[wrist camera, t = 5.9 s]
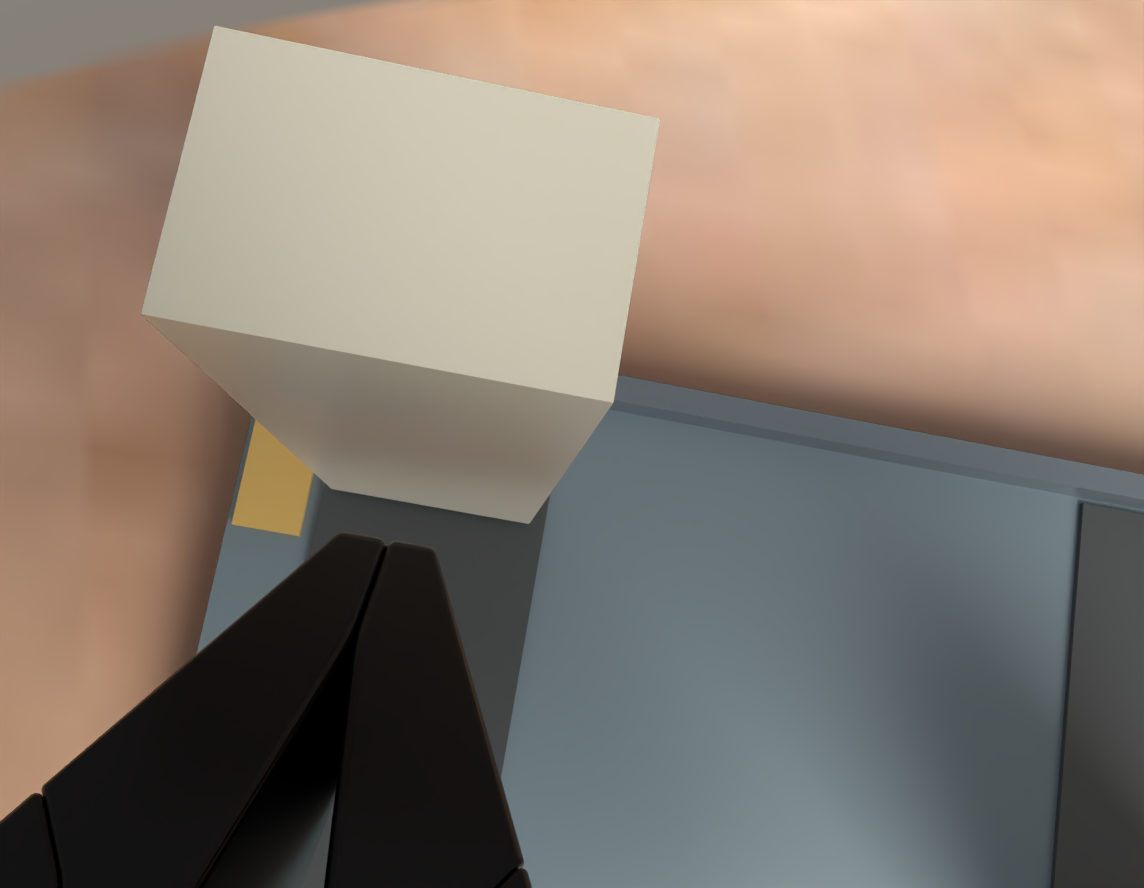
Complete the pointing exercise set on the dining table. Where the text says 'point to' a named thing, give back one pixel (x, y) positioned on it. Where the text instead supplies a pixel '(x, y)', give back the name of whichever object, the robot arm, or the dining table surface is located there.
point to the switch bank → (778, 649)
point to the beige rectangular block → (404, 268)
